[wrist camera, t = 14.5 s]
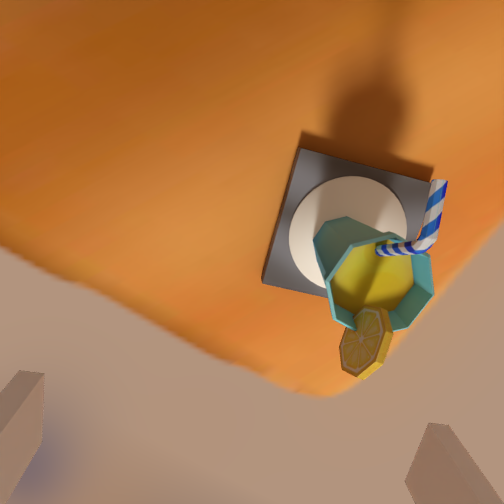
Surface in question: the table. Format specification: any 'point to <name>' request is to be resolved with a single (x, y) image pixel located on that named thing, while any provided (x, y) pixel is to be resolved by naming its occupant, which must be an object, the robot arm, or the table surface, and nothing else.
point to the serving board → (336, 213)
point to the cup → (376, 281)
